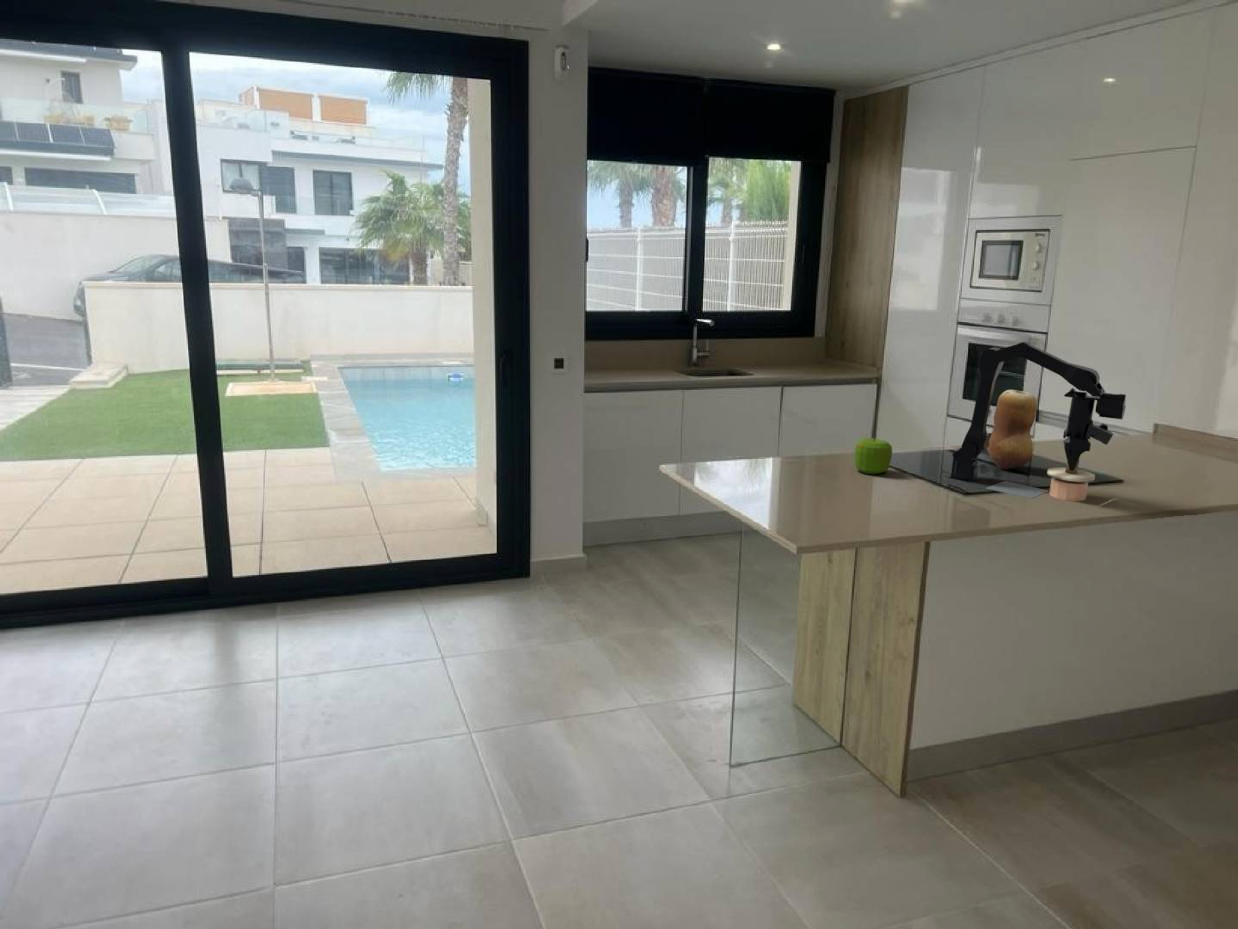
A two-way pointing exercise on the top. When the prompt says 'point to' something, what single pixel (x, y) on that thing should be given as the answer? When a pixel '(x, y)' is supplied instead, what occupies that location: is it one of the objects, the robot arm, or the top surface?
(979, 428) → the robot arm
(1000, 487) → the mat
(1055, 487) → the bowl
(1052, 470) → the lid
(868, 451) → the apple
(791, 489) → the top surface
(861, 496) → the top surface
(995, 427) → the butternut squash
